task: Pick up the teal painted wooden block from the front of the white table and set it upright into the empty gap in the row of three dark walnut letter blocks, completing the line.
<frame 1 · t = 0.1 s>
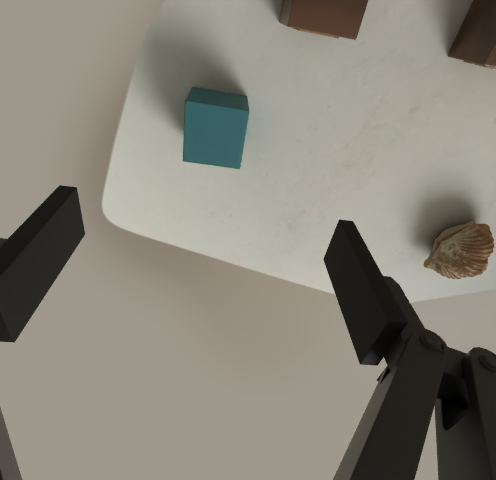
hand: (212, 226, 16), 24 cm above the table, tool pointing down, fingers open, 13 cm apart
seashell: (447, 237, 48), on the table
walnut block b: (490, 27, 31), on the table
teal block: (217, 119, 36), on the table
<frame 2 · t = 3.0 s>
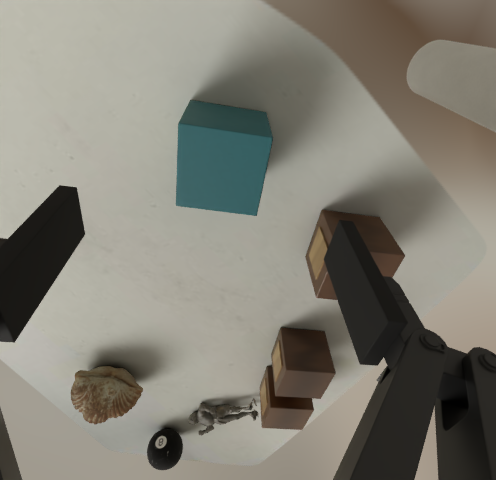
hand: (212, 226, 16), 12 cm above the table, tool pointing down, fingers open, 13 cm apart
walnut block c: (282, 378, 48), on the table
seashell: (114, 369, 46), on the table
billiard ball: (168, 429, 58), on the table
walnut block b: (297, 342, 43), on the table
teal block: (224, 143, 26), on the table
walnut block a: (340, 237, 32), on the table
figurine: (223, 405, 53), on the table
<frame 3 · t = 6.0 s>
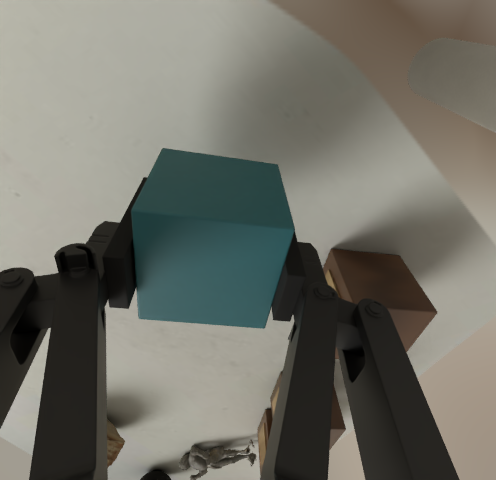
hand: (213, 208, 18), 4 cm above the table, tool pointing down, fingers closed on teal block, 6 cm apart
walnut block c: (282, 419, 43), on the table
seashell: (92, 417, 41), on the table
billiard ball: (157, 470, 53), on the table
walnut block b: (299, 385, 38), on the table
teal block: (215, 205, 18), point 4 cm above the table, touching gripper
walnut block a: (352, 278, 27), on the table
figurine: (217, 447, 48), on the table
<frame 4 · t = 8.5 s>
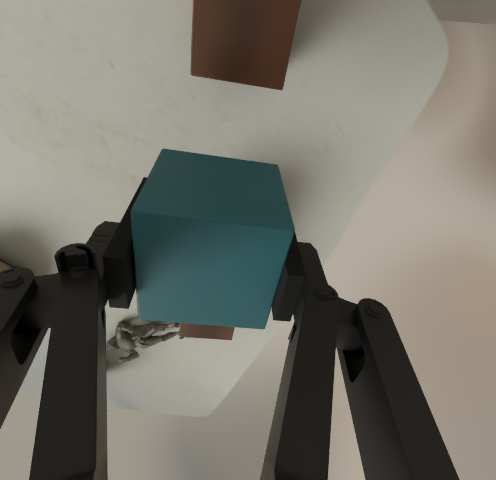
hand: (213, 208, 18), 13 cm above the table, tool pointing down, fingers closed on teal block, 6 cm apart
walnut block c: (211, 283, 39), on the table
teal block: (215, 206, 18), point 13 cm above the table, touching gripper
walnut block a: (242, 22, 23), on the table
figurine: (148, 327, 44), on the table
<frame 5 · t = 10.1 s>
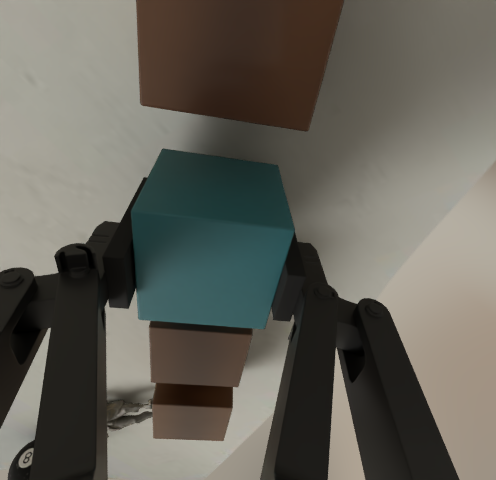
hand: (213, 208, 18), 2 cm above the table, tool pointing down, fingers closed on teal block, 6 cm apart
walnut block c: (198, 357, 30), on the table
billiard ball: (52, 437, 40), on the table
walnut block b: (205, 291, 25), on the table
teal block: (215, 206, 18), point 2 cm above the table, touching gripper
walnut block a: (238, 12, 14), on the table
figurine: (120, 402, 35), on the table
when the fingers open (0 cm above the table, at t = 11.0 s): teal block stays where it is, on the table.
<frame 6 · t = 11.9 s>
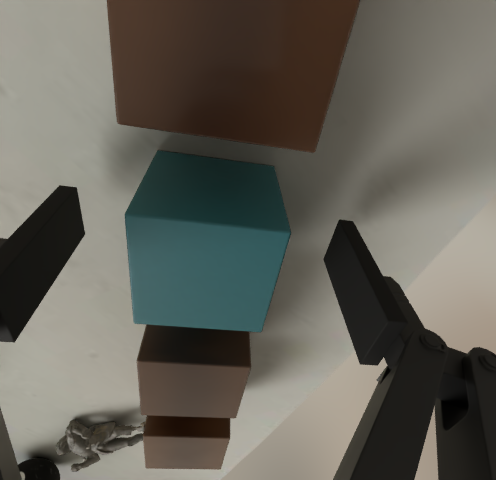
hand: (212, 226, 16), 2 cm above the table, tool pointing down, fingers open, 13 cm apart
walnut block c: (193, 378, 28), on the table
billiard ball: (42, 458, 38), on the table
walnut block b: (200, 312, 23), on the table
teal block: (211, 208, 18), on the table
walnut block a: (233, 14, 13), on the table
figurine: (112, 423, 33), on the table
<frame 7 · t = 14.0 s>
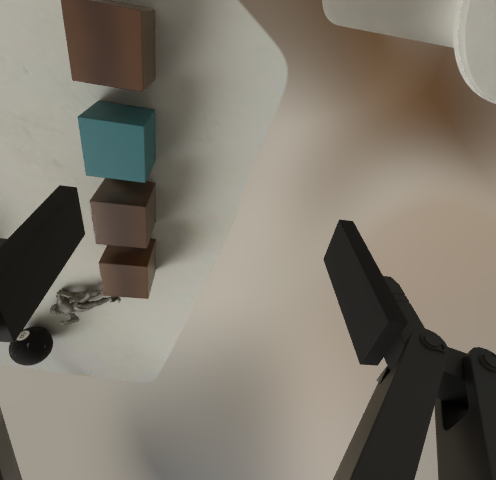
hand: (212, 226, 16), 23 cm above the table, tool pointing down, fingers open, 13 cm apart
walnut block c: (135, 253, 47), on the table
billiard ball: (40, 330, 56), on the table
walnut block b: (132, 200, 41), on the table
teal block: (128, 132, 36), on the table
walnut block a: (123, 40, 31), on the table
figurine: (87, 295, 51), on the table
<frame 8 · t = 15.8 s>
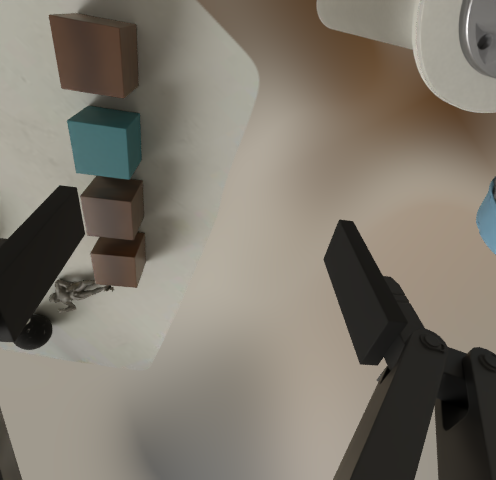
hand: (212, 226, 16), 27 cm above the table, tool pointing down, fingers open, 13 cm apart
walnut block c: (126, 245, 50), on the table
billiard ball: (41, 317, 60), on the table
walnut block b: (121, 196, 45), on the table
teal block: (116, 134, 40), on the table
walnut block a: (109, 51, 34), on the table
figurine: (83, 285, 55), on the table
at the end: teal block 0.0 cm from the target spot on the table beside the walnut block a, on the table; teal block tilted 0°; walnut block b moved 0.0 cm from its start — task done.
